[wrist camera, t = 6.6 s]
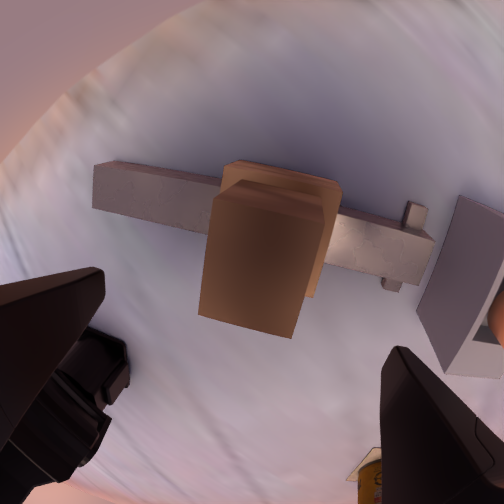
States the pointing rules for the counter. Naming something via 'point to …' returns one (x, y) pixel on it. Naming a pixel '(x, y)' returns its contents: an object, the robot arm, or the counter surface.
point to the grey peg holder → (467, 293)
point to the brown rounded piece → (497, 318)
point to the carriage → (266, 245)
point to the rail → (206, 188)
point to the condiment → (369, 478)
